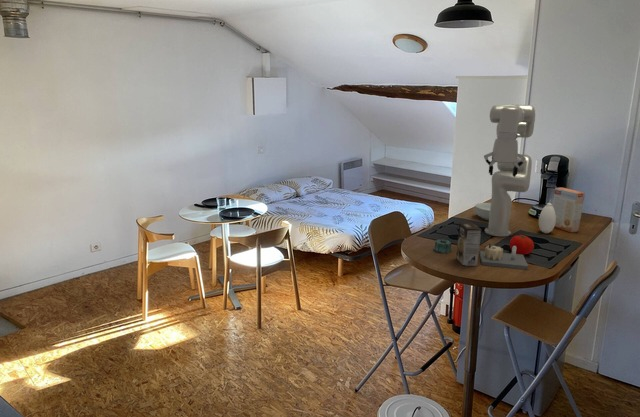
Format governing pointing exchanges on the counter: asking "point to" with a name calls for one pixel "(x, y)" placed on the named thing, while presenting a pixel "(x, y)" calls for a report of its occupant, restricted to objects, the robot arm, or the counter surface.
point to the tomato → (522, 244)
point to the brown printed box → (468, 244)
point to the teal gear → (442, 246)
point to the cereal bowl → (483, 210)
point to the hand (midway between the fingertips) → (502, 175)
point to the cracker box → (568, 208)
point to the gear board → (502, 258)
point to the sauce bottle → (547, 218)
